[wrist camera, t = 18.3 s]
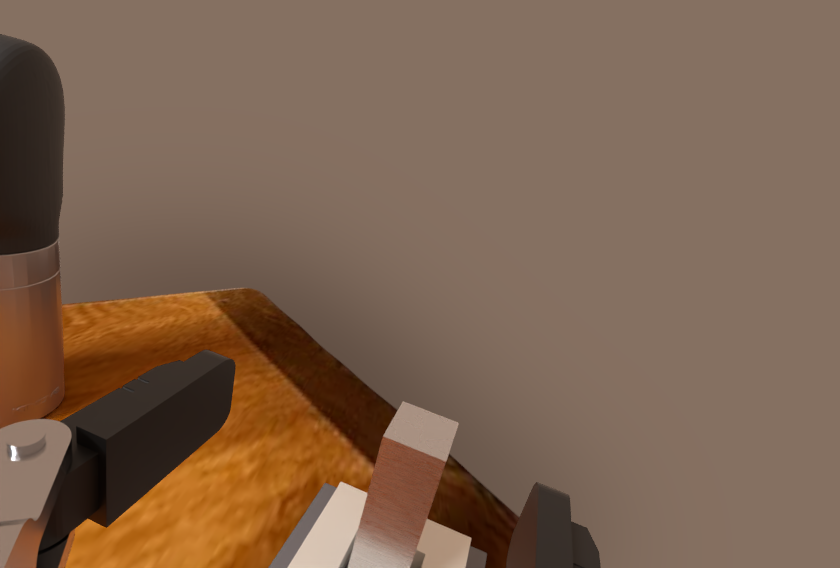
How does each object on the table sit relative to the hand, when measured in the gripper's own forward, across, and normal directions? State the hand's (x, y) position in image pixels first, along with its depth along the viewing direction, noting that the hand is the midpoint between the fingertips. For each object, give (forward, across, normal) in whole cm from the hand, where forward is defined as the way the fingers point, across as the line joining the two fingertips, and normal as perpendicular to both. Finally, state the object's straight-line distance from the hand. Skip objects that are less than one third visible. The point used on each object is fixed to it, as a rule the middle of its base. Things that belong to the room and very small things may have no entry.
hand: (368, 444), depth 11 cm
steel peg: (+15, 0, +26) cm, 30 cm away
